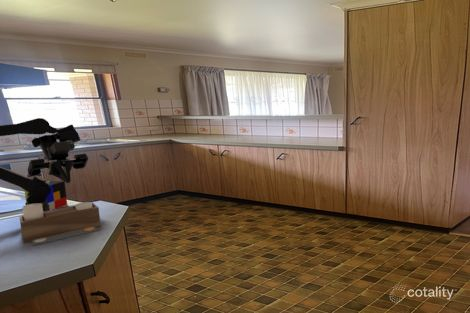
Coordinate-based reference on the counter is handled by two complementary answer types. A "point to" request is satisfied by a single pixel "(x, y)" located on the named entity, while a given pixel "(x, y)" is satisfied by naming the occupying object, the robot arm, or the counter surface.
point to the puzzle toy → (56, 194)
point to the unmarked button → (33, 211)
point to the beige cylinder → (83, 206)
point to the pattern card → (63, 235)
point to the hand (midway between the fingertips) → (69, 182)
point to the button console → (59, 222)
